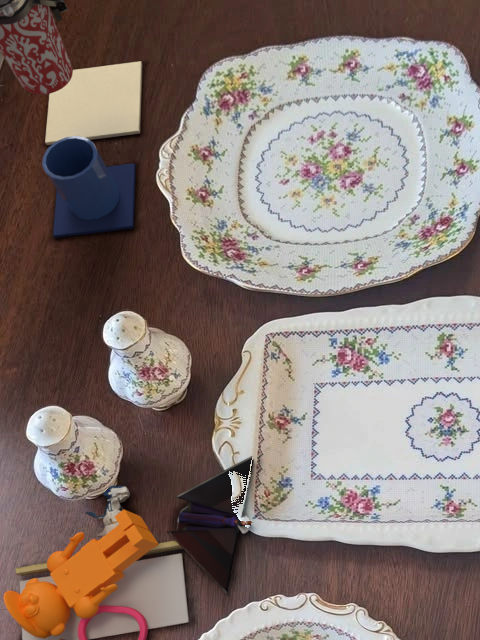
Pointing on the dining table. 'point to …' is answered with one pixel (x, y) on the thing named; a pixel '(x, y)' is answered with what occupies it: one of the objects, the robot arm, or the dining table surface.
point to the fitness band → (116, 609)
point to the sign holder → (131, 597)
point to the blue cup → (81, 177)
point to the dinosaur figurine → (112, 507)
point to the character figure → (213, 524)
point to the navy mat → (113, 221)
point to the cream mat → (97, 103)
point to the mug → (36, 52)
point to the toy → (80, 577)
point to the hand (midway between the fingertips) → (23, 22)
